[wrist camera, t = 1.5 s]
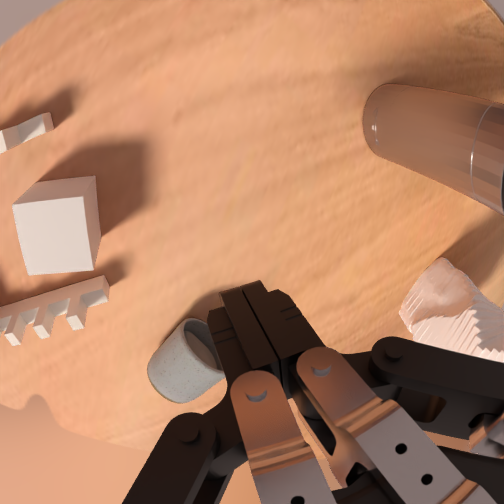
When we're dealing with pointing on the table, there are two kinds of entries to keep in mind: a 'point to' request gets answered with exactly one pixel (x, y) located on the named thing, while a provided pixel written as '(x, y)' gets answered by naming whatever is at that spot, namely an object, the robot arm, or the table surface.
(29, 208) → the white cube
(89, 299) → the notched wall frame
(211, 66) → the table surface
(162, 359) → the ceramic mug
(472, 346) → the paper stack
